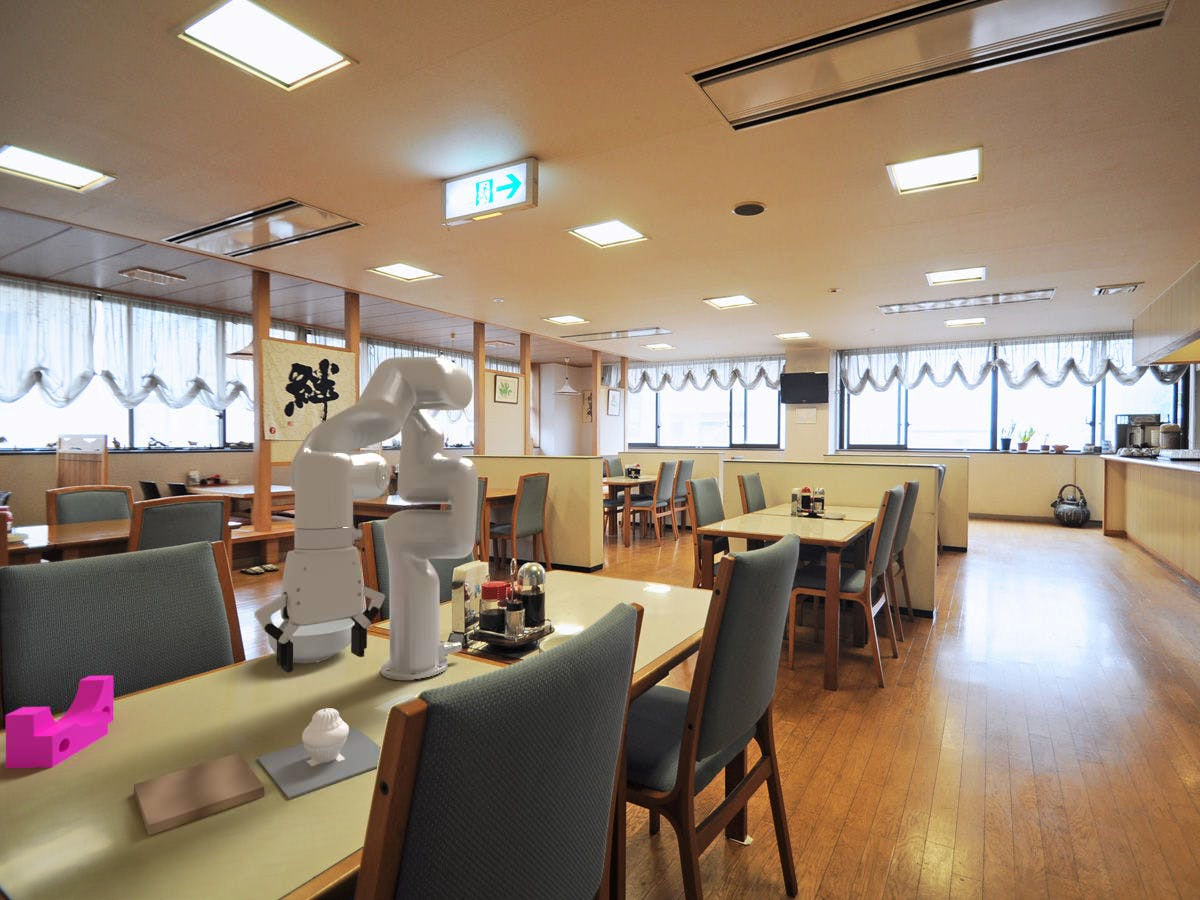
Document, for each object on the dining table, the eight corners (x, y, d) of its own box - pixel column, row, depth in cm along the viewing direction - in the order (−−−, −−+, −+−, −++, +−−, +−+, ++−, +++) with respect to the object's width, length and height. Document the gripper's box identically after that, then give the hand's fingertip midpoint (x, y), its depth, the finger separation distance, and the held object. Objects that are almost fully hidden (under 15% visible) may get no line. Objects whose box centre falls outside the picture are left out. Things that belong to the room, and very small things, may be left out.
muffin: (291, 765, 87) (291, 714, 87) (322, 745, 93) (322, 697, 93) (329, 771, 85) (328, 720, 85) (358, 750, 91) (358, 702, 91)
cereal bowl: (372, 649, 138) (372, 617, 138) (315, 675, 122) (315, 639, 122) (311, 641, 144) (311, 610, 144) (248, 665, 128) (248, 630, 128)
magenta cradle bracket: (52, 768, 87) (52, 714, 87) (5, 769, 87) (5, 715, 87) (129, 721, 102) (129, 675, 102) (89, 722, 102) (89, 675, 102)
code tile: (355, 728, 99) (355, 726, 99) (395, 761, 89) (395, 759, 89) (257, 759, 89) (257, 756, 89) (288, 799, 79) (288, 796, 79)
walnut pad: (239, 761, 89) (239, 752, 89) (264, 795, 80) (264, 786, 80) (133, 793, 81) (133, 784, 81) (148, 835, 72) (148, 825, 72)
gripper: (373, 532, 97) (372, 644, 97) (248, 542, 86) (247, 669, 85) (394, 537, 92) (394, 655, 92) (264, 548, 80) (263, 684, 80)
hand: (323, 662), depth 88 cm, fingers open, 9 cm apart
